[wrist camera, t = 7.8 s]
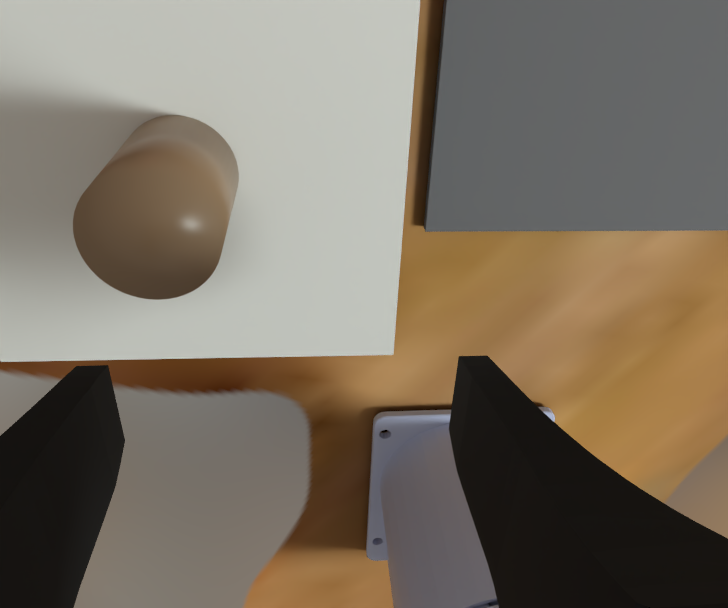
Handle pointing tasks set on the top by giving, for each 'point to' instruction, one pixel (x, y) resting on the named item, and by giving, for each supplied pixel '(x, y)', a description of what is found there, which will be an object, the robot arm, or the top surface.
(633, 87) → the mat
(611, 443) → the top surface
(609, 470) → the robot arm
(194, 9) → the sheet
